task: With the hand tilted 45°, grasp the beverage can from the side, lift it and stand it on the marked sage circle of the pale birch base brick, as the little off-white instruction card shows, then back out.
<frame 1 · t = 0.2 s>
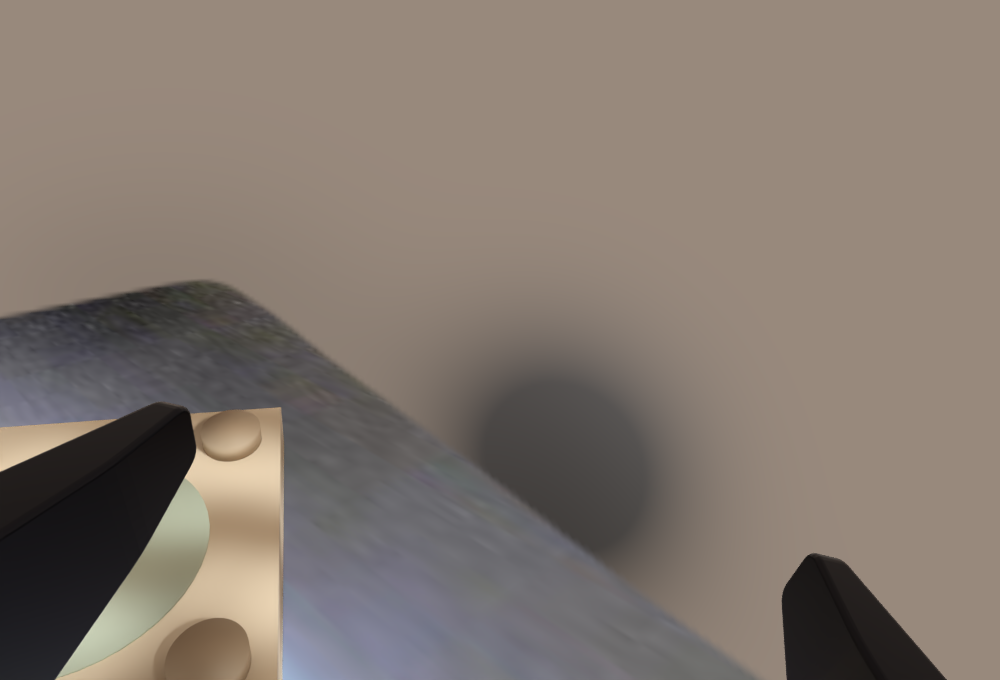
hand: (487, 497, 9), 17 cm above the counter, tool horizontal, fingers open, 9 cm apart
base brick: (88, 594, 23), on the counter
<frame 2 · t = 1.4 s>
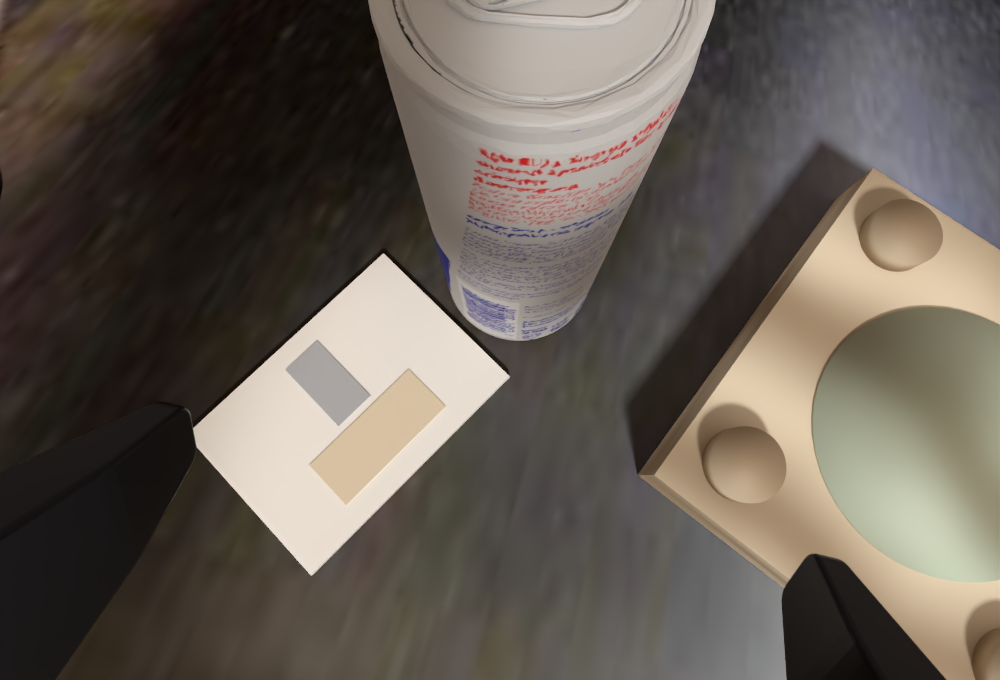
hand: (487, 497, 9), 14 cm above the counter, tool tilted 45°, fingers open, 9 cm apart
instruction card: (351, 406, 23), on the counter
beverage can: (518, 276, 24), on the counter
base brick: (899, 442, 23), on the counter
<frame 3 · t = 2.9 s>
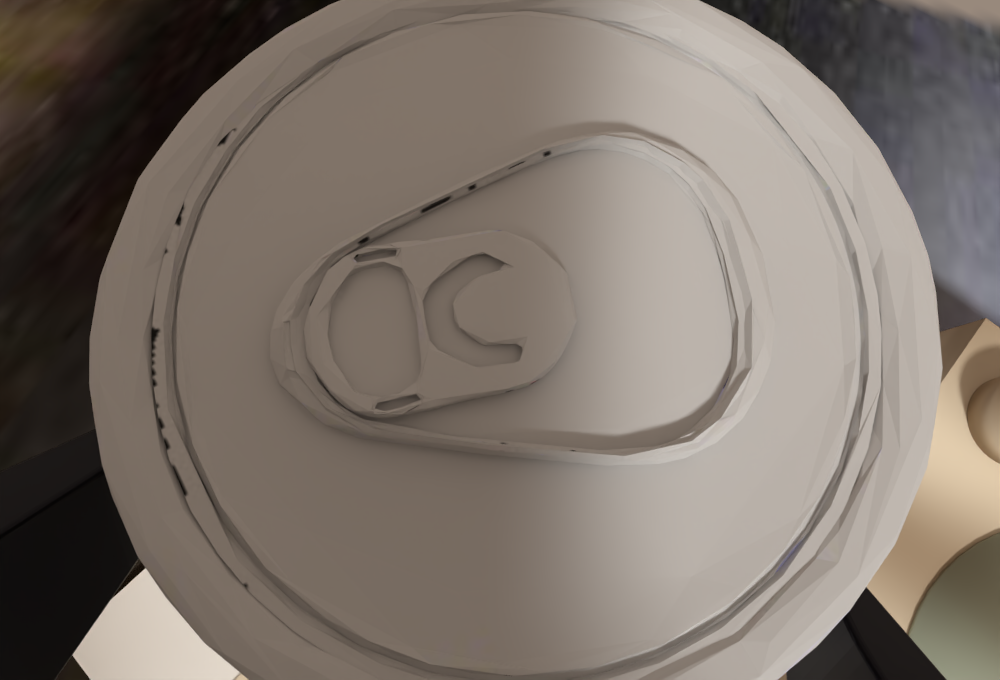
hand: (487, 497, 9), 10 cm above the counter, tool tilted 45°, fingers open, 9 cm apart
instruction card: (282, 605, 17), on the counter
beverage can: (507, 430, 19), on the counter
when the fingers open (11 cm above the counter, at t = 8.1 s): beverage can drops 1 cm, resting on base brick.
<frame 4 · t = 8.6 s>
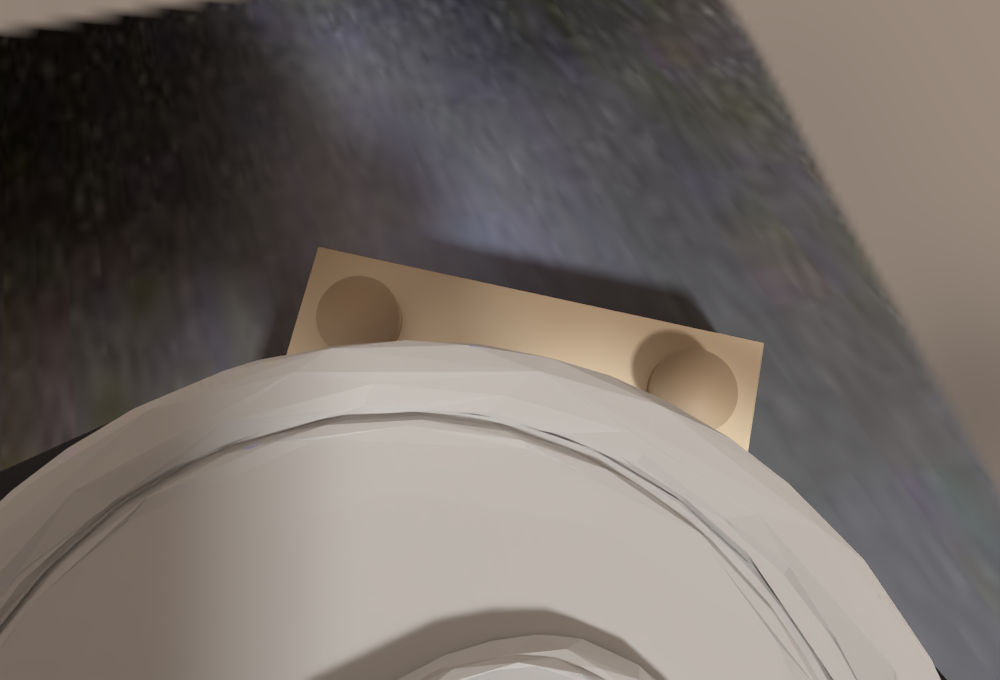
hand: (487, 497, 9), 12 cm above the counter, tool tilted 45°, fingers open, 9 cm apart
beverage can: (484, 532, 17), point 2 cm above the counter, touching base brick
base brick: (488, 516, 20), on the counter
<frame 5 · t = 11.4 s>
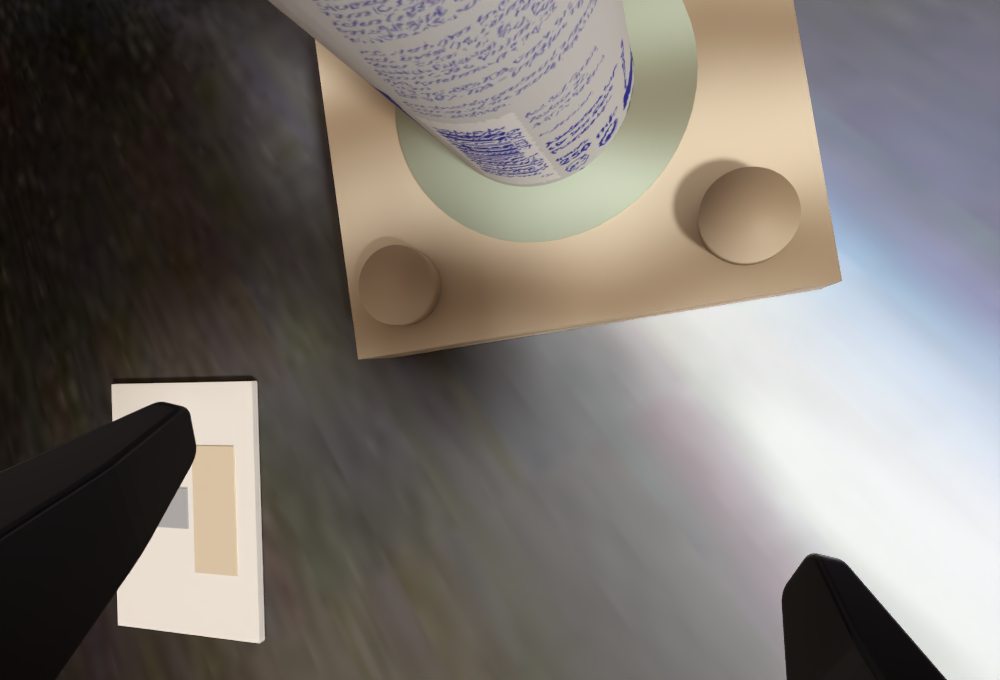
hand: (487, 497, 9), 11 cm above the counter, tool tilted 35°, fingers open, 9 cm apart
instruction card: (188, 506, 24), on the counter
beverage can: (538, 97, 18), point 2 cm above the counter, touching base brick
base brick: (553, 118, 20), on the counter
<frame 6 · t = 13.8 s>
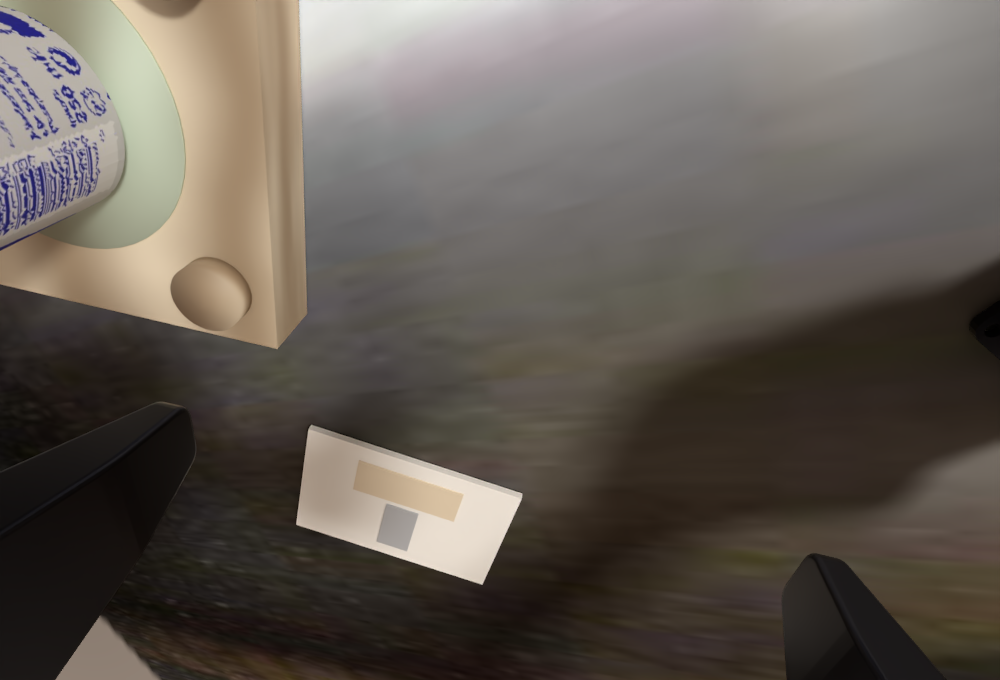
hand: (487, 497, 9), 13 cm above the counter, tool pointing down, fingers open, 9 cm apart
instruction card: (403, 507, 29), on the counter
beverage can: (50, 109, 18), point 2 cm above the counter, touching base brick
base brick: (100, 91, 20), on the counter
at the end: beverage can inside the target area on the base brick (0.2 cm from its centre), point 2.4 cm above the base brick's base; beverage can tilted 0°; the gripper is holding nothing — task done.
